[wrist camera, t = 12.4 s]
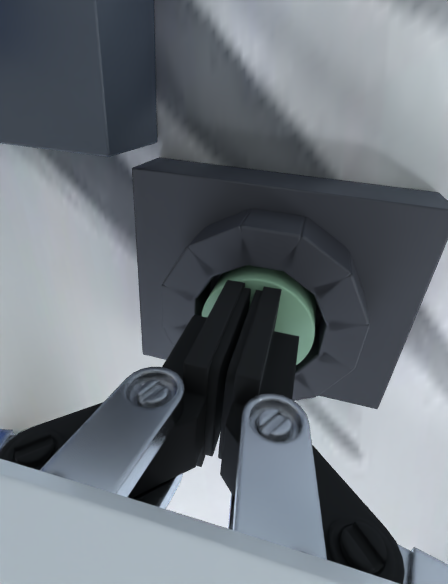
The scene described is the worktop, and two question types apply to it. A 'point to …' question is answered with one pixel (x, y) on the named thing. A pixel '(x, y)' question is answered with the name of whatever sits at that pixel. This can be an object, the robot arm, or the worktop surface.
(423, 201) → the block
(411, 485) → the worktop surface
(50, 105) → the panel
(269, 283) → the button
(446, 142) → the worktop surface
